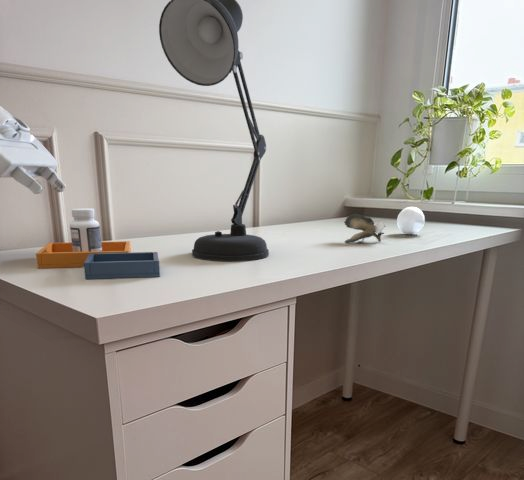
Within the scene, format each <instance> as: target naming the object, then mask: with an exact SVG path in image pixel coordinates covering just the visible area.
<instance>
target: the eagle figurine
mask: <svg viewBox="0 0 524 480" xmlns="http://www.w3.org/2000/svg"><path fill="white" fill-rule="evenodd" d="M343 223H344V225H345V226H346V228H349V229H353V230H356V231H360V232H358V233H355V234H353V235H352V236H351V237H350V238H347V239H346V240H344V243H354V242H358V241H360V240H361V241H362V242H363V241H364V240H365V239H368V238H371V237H375V238H376V239H377V241H378V243H379V242H380V243H381V242H382V235H384V234H385V232H382V231H384V229H385V228H386V224H385V222H383V221H381V220H380V221H378V222H377V223H376V224H375V221H374V220H373V219H372V218H371V217H369V216H368V217H367V216H364V215H362V214H361V213H352V214H351V215H348V216H347V217H346V218H345V220H344V221H343Z"/></svg>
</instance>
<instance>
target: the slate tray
mask: <svg viewBox="0 0 524 480" xmlns="http://www.w3.org/2000/svg"><path fill="white" fill-rule="evenodd" d="M158 254H159V253H158V251H142V252H141V251H139V252H131V253H91V254H89V255H88V257H87V259H86V260H85V262H84V267H83V269H84V278H85V280H105V279H131V278H136V279H137V278H138V279H139V278H160V277H161V274H160V273H161V272H160V271H161V270H160V269H161V268H160V260H159V255H158Z"/></svg>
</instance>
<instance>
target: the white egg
mask: <svg viewBox="0 0 524 480" xmlns="http://www.w3.org/2000/svg"><path fill="white" fill-rule="evenodd" d="M425 218H426V217H425V214H424V212H423V211H422V210H421V209H420V208H418V207H416V206H407V207H405V208H403V209H402V210H400V212H399V214H398V215H397V218H396V225H397V227H398V229H399V230H400V231H401V232H402V233H403V234H406V235H415V234H417V233H418V232H420V231H421V230H422V229H423V227H424V225H425V222H426V219H425Z"/></svg>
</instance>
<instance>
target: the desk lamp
mask: <svg viewBox="0 0 524 480" xmlns="http://www.w3.org/2000/svg"><path fill="white" fill-rule="evenodd" d="M243 19H244V15H243V10H242V7H241V5H240V3H239V2H238V1H237V0H169V1H168V2H167V4H166V5H165V6H164V7H163V10H162V11H161V15H160V18H159V24H158V35H159V41H160V44H161V45H160V46H161V49H162V50H163V54H164V56H165V58H166V59H167V61H168V63H169V64H170V66H171V67H172V68H173V70H175V72H176V73H177V74H179V75H180V76H181V77H182V78H183V79H184V80H186V81H188V82H190V83H192V84H194V85H197V86H201V87H210V86H211V87H212V86H215V85H218V84H220V83H222V82H223V81H225V80H226V79H227V77H228V76H229V74H231V73H232V75H233V78H234V81H235V86H236V89H237V93H238V95H239V99H240V100H239V101H240V103H241V107H242V110H243V114H244V118H245V121H246V126H247V128H248V132H249V136H250V138H251V139H250V140H251V143H252V146H253V149H254V150H253V161H252V164H251V167H250V169H249V173H248V175H247V179H246V182H245V185H244V188H243V189H242V191H241V193H240V194H239V196H238V198H237V200H236V201H235V204H233V205H232V208H233V214H232V218H231V219H230V222H231V225H230V233H223V232H222V231H219V230H217V231H215V232H214V233H213V234H206V235H202V236H200V237H198V238H197V239H196V240H195V241H194V244H193V249H192V250H191V256H192V257H193V258H195V259H198V260H204V261H205V260H206V261H214V262H246V261H255V260H256V261H257V260H261V259H265V258H268V257H269V255H270V253H269V252H270V250H269V249H268V246H267V243H266V239H264V238H263V237H260V236H257V235H255V234H254V235H253V234H247V227H246V224H244V223H243V214H244V211H245V209H246V205H247V201H248V200H249V196H250V193H251V190H252V187H253V184H254V181H255V178H256V175H257V172H258V169H259V166H260V163H261V160H262V158H263V157H264V155H265V154H266V151H267V142H266V139H265V135H263V134H261V133H260V130H259V127H258V122H257V119H256V115H255V111H254V108H253V103H252V100H251V96H250V92H249V88H248V84H247V81H246V76H245V73H244V69H243V66H242V62H241V60H243V58H244V54H243V52H242V51H240V50H239V47H240V46H239V34H238V33H239V31H240V30H241V28H242V25H243ZM237 69H238V70H237ZM238 73H239V75H238ZM239 77H240V79H239ZM240 80H241V83H240ZM241 84H242V86H241ZM242 88H243V89H242ZM243 91H244V93H243ZM244 95H245V97H244ZM245 98H246V101H245ZM246 102H247V104H246ZM247 105H248V108H247ZM248 109H249V112H248ZM249 113H250V115H249Z"/></svg>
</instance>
